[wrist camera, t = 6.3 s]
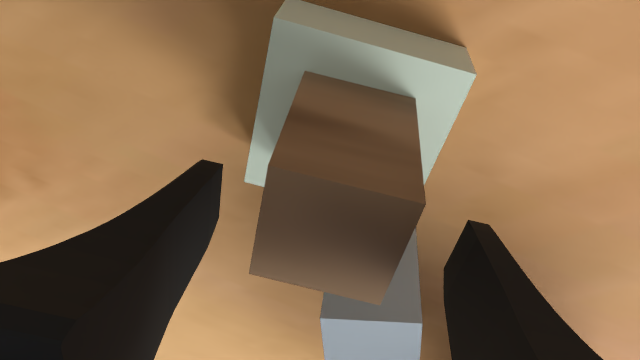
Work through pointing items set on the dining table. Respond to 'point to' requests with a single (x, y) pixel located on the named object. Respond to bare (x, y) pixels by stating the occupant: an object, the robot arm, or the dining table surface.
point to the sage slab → (357, 73)
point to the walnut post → (341, 190)
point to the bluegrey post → (377, 319)
